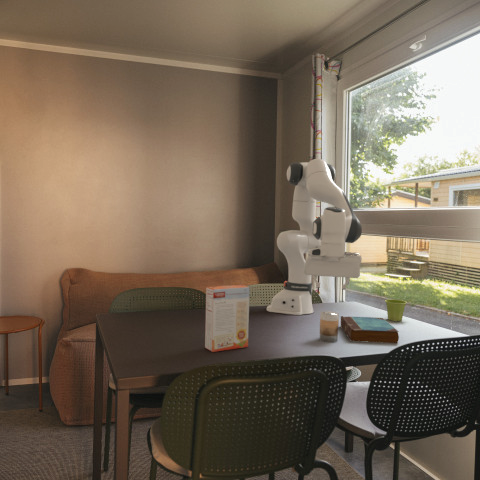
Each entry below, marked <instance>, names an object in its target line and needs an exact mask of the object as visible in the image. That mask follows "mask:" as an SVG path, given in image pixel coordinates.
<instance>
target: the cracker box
mask: <svg viewBox="0 0 480 480" xmlns="http://www.w3.org/2000/svg"><path fill="white" fill-rule="evenodd" d="M250 291H251V290H250V287H249V286H247V285H244V284H238V285H236V284H231V285H218V286H207V287H205V332H204V334H205V335H204V348H205V349H207V350H208V351H210V352H212V353H215V352H223V351H229V350H230V351H231V350H237V349H243V348H249V323H250V321H249V318H250V317H249V316H250Z"/></svg>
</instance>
